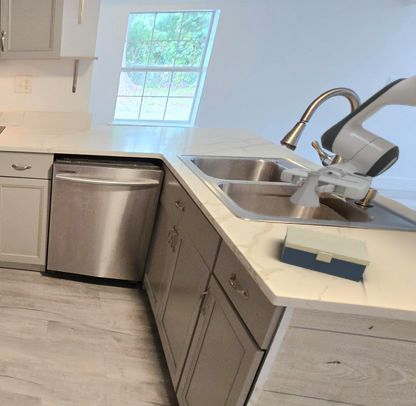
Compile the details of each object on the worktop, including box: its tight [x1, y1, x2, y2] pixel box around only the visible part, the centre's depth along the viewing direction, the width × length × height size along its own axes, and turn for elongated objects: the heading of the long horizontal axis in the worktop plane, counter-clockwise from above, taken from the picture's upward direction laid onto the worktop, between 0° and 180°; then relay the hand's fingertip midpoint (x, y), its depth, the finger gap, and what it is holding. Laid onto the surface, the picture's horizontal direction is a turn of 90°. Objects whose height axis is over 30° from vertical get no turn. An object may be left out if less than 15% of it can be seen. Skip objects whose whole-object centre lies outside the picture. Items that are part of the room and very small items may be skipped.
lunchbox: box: [280, 224, 371, 283], centre depth 89 cm, size 14×12×6 cm
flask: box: [289, 170, 322, 208], centre depth 109 cm, size 7×7×10 cm
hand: (308, 187), depth 109 cm, fingers closed on flask, 3 cm apart
